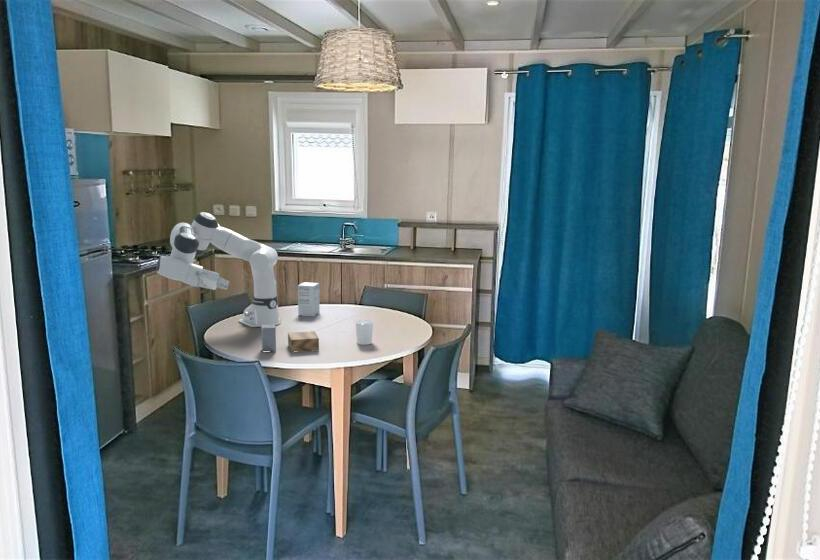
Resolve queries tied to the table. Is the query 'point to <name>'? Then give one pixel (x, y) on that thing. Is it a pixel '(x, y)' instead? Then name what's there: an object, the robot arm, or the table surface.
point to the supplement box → (308, 299)
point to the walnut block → (303, 341)
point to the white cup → (364, 332)
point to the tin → (268, 337)
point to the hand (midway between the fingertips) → (228, 285)
